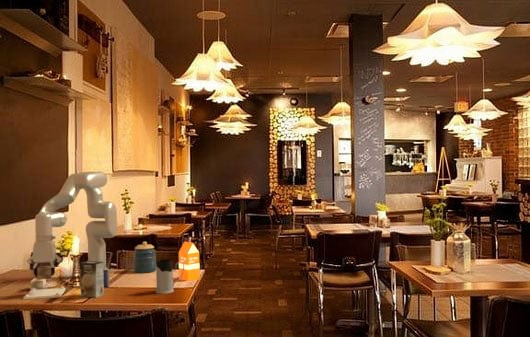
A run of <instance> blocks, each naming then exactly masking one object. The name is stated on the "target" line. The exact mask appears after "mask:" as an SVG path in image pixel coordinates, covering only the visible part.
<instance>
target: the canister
mask: <svg viewBox="0 0 530 337" xmlns="http://www.w3.org/2000/svg"><path fill="white" fill-rule="evenodd" d="M154 248H155V246H154V245H152V244H148V242H147V241H143V242H142V243H141V244H138V245H136V246H135V247H134V251H133V252H132V253H133V271H134V273H136V274H149V273H155V272H156V266H157V262H156V261H157V260H156V259H157V255H156V252H157V250H156V249H154Z"/></svg>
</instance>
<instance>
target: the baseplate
mask: <svg viewBox="0 0 530 337" xmlns="http://www.w3.org/2000/svg"><path fill="white" fill-rule="evenodd" d="M65 291H66V288H65V286H61V287H60V288H59V287H58V288H45V289H41V290H35V289H32V290H31V289H30V291H29V292H28V293H26V294H25V295H24V296H23V298H22V299H23V300H37V299H53V298H56V299H57V298H60V297H61V296H62V295H63V294H64V293H65Z"/></svg>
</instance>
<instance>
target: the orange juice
mask: <svg viewBox="0 0 530 337" xmlns="http://www.w3.org/2000/svg"><path fill="white" fill-rule="evenodd" d="M178 262H182V263H178V276H179V277H178V279H179V278H180V276H181V275H182V272H183V264H184V272H183V275H182V277H181V278H180V279H179V280H182V281H187V282H190V281H197V280H201V279H200V278H201V276H200V274H201V273H200V272H201V271H200V251H199V249H197V247H196V245H195V244H194V242H190V241H184V242H183V244H182V246H181V247H180V249H179V251H178Z"/></svg>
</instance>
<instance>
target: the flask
mask: <svg viewBox="0 0 530 337" xmlns="http://www.w3.org/2000/svg"><path fill="white" fill-rule="evenodd" d="M109 270H110V269H109V268H107V269H103V276H104V277H103V278H104V288H109V287H110V285H111V284H110V273H109Z"/></svg>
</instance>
